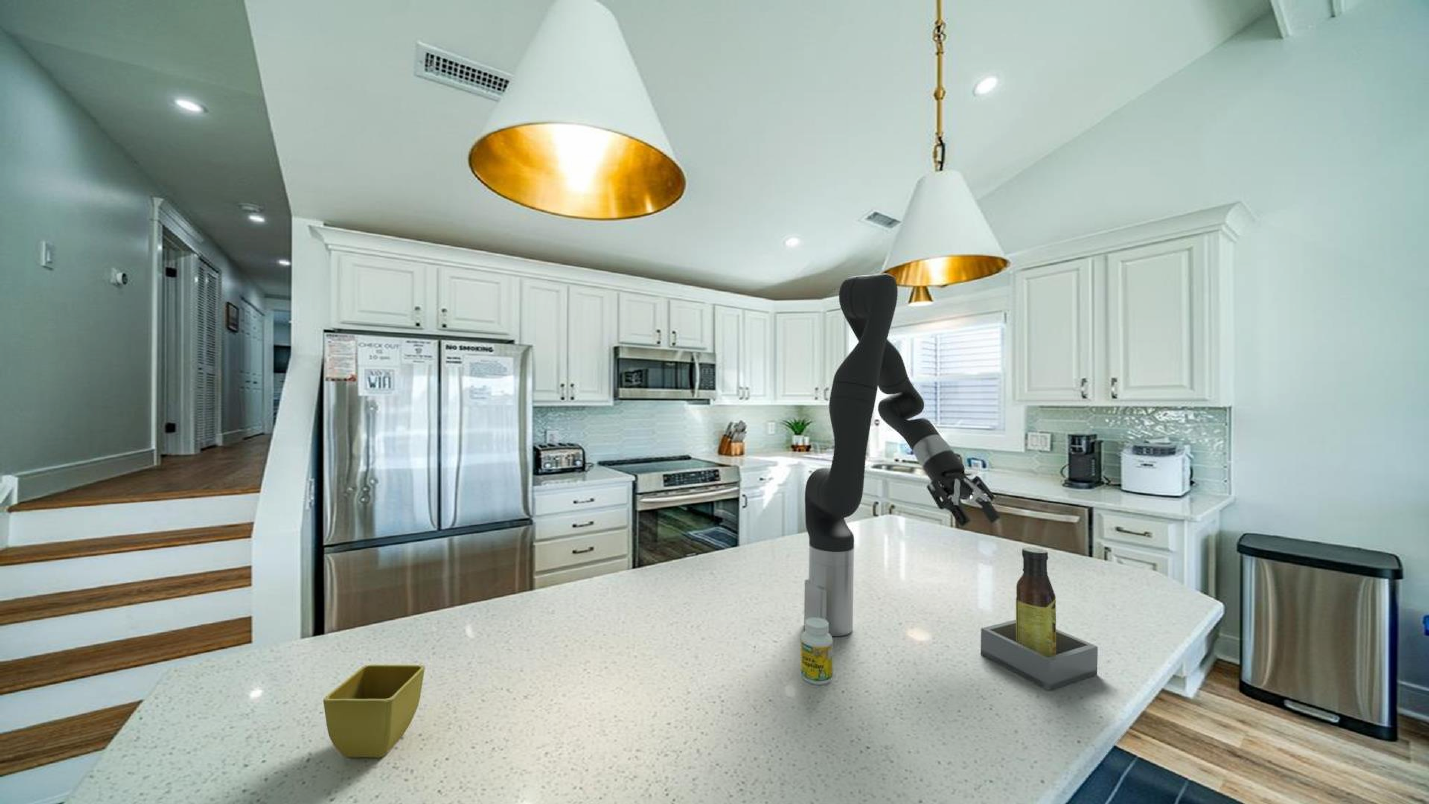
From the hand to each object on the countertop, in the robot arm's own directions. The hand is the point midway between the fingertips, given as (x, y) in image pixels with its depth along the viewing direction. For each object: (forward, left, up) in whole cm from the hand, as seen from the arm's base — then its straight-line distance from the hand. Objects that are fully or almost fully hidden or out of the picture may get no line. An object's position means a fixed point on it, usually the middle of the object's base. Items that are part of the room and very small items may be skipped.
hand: (981, 522), depth 104 cm
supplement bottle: (-40, 0, -23) cm, 46 cm away
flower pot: (-106, +9, -24) cm, 109 cm away
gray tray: (0, -12, -23) cm, 26 cm away
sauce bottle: (0, -12, -22) cm, 25 cm away
